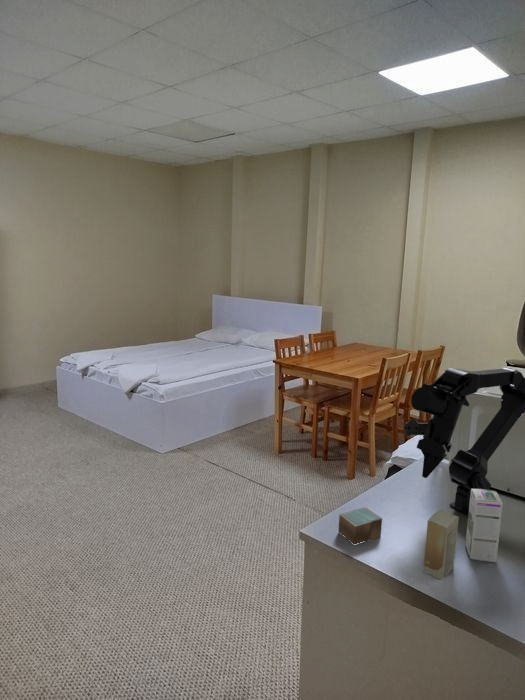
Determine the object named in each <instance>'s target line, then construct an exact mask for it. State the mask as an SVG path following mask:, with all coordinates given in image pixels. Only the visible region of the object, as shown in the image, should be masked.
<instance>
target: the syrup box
mask: <svg viewBox="0 0 525 700" xmlns="http://www.w3.org/2000/svg"><path fill="white" fill-rule="evenodd" d="M503 504H504V503H503V502H502V499H501V498H500V496H499V494H498V492H497V491H496V490H486V489H471V494H470V503H469V513H468V515H467V524H466V526H467V527H466V534H465V549H466V551H467V554H468V557H469V559H471V560H474V561H475V560H476V561H482V562H489V563H490V562H491V563H497V558H498V550H499V549H498V548H499V539H500V532H501V522H502V521H501V520H502V513H503Z"/></svg>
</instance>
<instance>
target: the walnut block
mask: <svg viewBox="0 0 525 700" xmlns="http://www.w3.org/2000/svg"><path fill="white" fill-rule="evenodd" d="M382 523H383V518H382V517H381V516H379V514H378V515H377V514H376V513H375V512H373V511H372V510H370V509H369V508H368V507H366V506H364V507H360V508H357V509H354V510H351V511H350V510H349V511H347V512H344V513H343V512H342V513H340V514H339V517H338V531H339V532H340V533H341V534H342V535H344V536H345V537H346V538H347V539H348V540H350V541H351V542H352V543H353V544H357V543H360V542H363V541H367V542H369V541H368V540H370V541H373V540H375V539H379V538H381V537H382V536H381V535H382V525H383V524H382ZM341 534H340V535H341ZM342 535H341V536H342ZM347 539H346V540H347ZM348 540H347V541H348ZM352 543H351V544H352ZM353 544H352V545H353Z"/></svg>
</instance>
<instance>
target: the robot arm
mask: <svg viewBox="0 0 525 700" xmlns="http://www.w3.org/2000/svg"><path fill="white" fill-rule="evenodd" d="M493 387H494V388H495V387H499V390H500V392H501V393H502V395H501V396H500V408H499V410H498V411H497V412H496V414H495V415H494V416H493V418H492V419H491V421H490V422H489V423H488V425H487V426H486V428H485V429H483V432H482V433H481V434H480V436H479V437H478V438H477V439H476V441H475V443H474V444H473V445H472V447H470V449H468V450H463V449H459V450H457V452H456V454H455V455H454V457H453V458H452V459H450V461H451V462H450V463H449V465H448V471H449V472H448V473H449V478H450V481H451V483H453V484H455V485H457V486H456V492H455V496H454V501H453V502H450V503H449V506H450V507H451V508H452V509H455V510H457V511H459V512H461V513H462V514H463V515H464V514H465V515H466V516H468V513H469V503H470V494H471V489H486V490H490V489H491V487H492V484H491V483H490V481H489V480H488V479H487V477H486V476H487V474H488V462H489V460H490V459H491V458H492V456H493V454H494V453H495V452H496V450H497V449H498V447H499V446H500V444H501V443H502V442H503V441H504V439H505V438H506V436H507V435H508V433H509V432H510V431H511V430H512V428H513V426H514V425H515V424H516V423H517V421H518V420H519V419H520V418H519V417H520V416H521V414H522V413H524V412H525V377H524V375H523V373H522V372H521V371H519V370H518V369H514V368H511V367H501V368H494V369H482V370H474V371H473V370H472V371H471V370H465V369H460V368H454V367H450V368H449V367H448V368H446V369H445V370H444V372H443V373H442V374H441V375H440V376H439V377H438V378H437V379H435V381H433V382H432V383H431V384H429V383H425V382H423V383H422V385H421V387H418V388H417V389H416V390H414V392H413V393H412V394H411V398H410V403H411V406H412V408H413V409H414V410H415V411H419V412H421V413H425V414H428V415H432V417H431V418H429V419H428V421H427V422H419V420H417V419H412V418H411V419H408V422H404V427H403V429H404V435H405V436H406V437H407V436H409V437H410V436H422V438H420V439H419V440H418V442H417V445H416V448H417V449H418V450H420V451H421V453H422V454H423V466H422V475H421V476H422V478H425V479H427V478H428V477H429V476H430V475H431V474H432V472H433V471H434V470H436V469H437V467H438V466H439V465H440V464H441V462H442V461H443V460H444V459H445V458H446V457H447V456H448V455H447V454H446V453H450V452H451V450H452V447H453V443H452V442H451V440H452V437H453V434H454V432H455V430H456V427H457V422H458V420H459V417H460V414H461V412H462V410H463V409H462V408H463V406H465V407H469V406H470V403H469V401H468V400H467V396H470V395H473V394H475V393H477V392H478V391H479V390H481V389H484V388H493ZM501 399H503V401H501ZM518 418H519V419H518Z"/></svg>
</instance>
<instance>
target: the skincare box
mask: <svg viewBox="0 0 525 700" xmlns="http://www.w3.org/2000/svg"><path fill="white" fill-rule="evenodd" d="M459 519H460V517H459V516H458V515H455V514H454V513H453V514H452V513H449V512H447V511H445V510H442V509H439V510H437V511H436V512H435V513H433V514H432V515H431V517H429V518H428V519H427V523H426V524H427V526H426V536H425V538H426V539H425V547H424V558H423V566H422V567H423V568H422V571H423V573H424V572H425V573H427V574H429V575H430V576H433V577H435V578H437V579H439V580H441V581H442V580H443V579H445V578H446V576H447V575H449V573H450V572H451V571H452V570H453V568H454V565H455V559H456V558H455V555H456V548H457V547H456V545H457V537H458V527H459Z"/></svg>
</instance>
